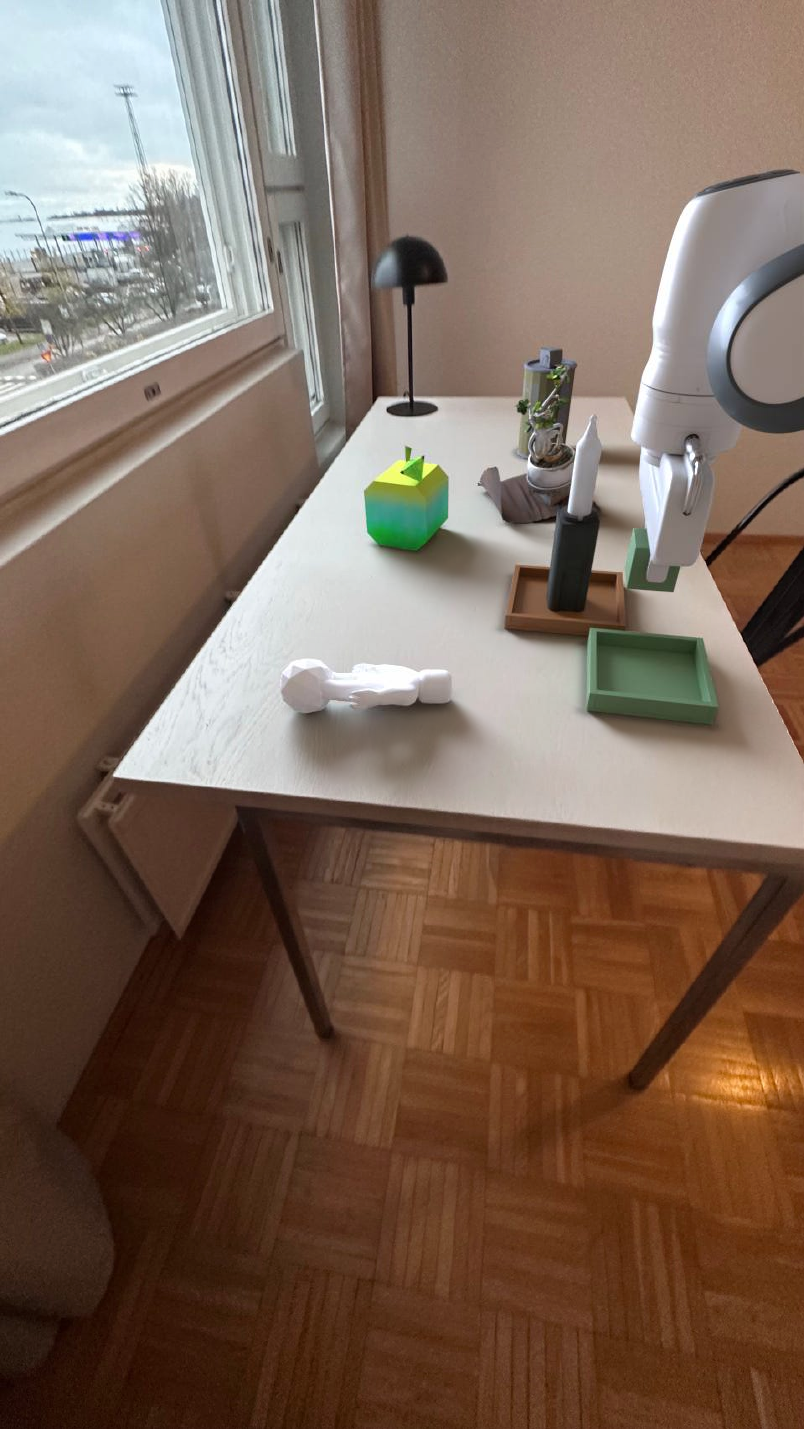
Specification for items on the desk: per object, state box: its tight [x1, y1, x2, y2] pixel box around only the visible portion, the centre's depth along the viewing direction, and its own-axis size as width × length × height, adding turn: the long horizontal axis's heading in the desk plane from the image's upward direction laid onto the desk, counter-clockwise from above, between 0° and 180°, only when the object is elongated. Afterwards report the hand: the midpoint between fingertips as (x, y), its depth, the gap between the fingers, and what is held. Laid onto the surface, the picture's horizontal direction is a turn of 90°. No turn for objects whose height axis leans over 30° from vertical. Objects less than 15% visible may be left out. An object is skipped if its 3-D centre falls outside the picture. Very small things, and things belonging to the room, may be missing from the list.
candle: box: [546, 414, 603, 612], centre depth 81 cm, size 5×5×25 cm
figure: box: [278, 658, 453, 714], centre depth 73 cm, size 11×7×20 cm
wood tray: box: [503, 564, 627, 637], centre depth 89 cm, size 16×15×2 cm
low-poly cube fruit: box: [363, 445, 450, 552], centre depth 104 cm, size 11×10×15 cm
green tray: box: [585, 628, 719, 726], centre depth 76 cm, size 14×14×3 cm
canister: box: [516, 345, 578, 460], centre depth 131 cm, size 11×10×20 cm
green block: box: [624, 527, 682, 593], centre depth 63 cm, size 4×4×4 cm
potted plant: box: [477, 364, 602, 525], centre depth 111 cm, size 20×19×25 cm
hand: (652, 564), depth 64 cm, fingers closed on green block, 4 cm apart
